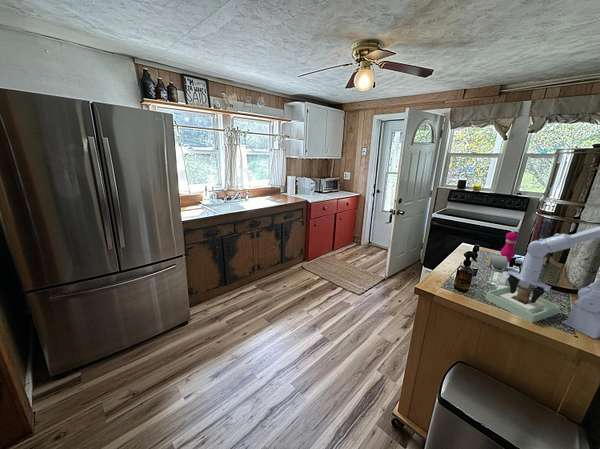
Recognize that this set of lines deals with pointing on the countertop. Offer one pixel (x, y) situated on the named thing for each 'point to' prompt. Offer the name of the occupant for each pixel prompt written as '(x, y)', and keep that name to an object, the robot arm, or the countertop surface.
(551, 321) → the countertop surface
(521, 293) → the peg
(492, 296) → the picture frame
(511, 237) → the pepper mill
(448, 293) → the countertop surface
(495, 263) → the ceramic mug
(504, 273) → the charger
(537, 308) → the bore plate
